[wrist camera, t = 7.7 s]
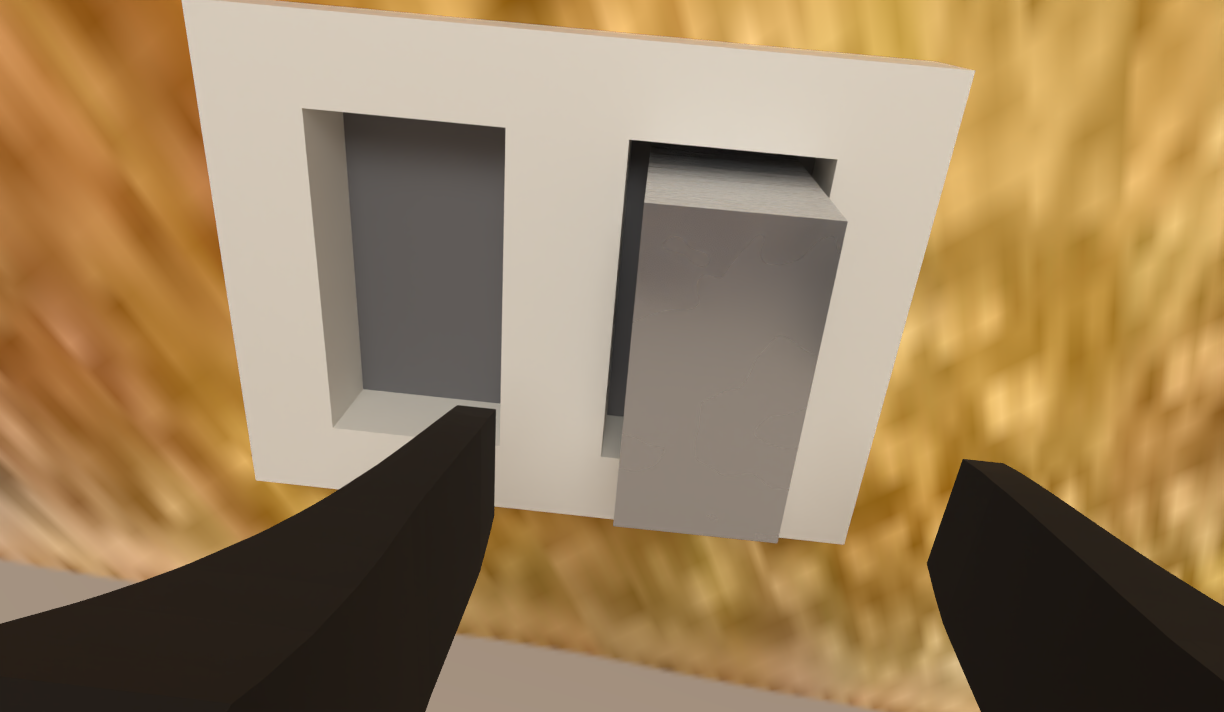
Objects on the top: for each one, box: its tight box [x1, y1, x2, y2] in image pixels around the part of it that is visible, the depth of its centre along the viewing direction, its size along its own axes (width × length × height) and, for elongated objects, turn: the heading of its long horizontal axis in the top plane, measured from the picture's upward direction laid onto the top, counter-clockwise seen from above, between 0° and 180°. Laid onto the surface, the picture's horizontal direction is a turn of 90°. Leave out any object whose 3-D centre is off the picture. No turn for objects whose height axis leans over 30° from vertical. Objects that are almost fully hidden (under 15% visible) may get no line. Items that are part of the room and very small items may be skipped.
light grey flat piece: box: [182, 0, 975, 545], centre depth 19 cm, size 16×12×2 cm
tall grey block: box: [613, 142, 848, 543], centre depth 17 cm, size 4×7×6 cm, turn 176°
